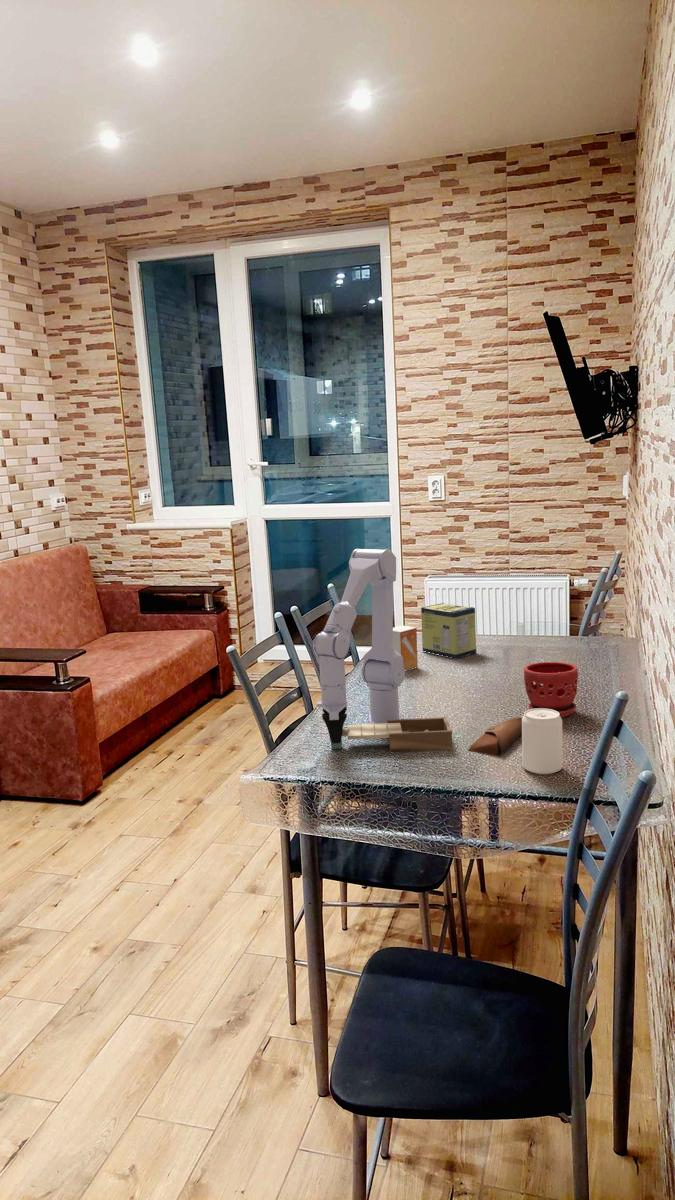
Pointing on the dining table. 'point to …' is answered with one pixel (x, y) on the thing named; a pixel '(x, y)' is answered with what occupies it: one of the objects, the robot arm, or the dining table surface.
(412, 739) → the brown wooden flat box
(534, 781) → the dining table surface
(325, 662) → the robot arm
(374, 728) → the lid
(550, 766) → the beverage can
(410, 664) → the small box
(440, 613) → the protein box
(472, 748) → the sunglasses case
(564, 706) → the plant pot
